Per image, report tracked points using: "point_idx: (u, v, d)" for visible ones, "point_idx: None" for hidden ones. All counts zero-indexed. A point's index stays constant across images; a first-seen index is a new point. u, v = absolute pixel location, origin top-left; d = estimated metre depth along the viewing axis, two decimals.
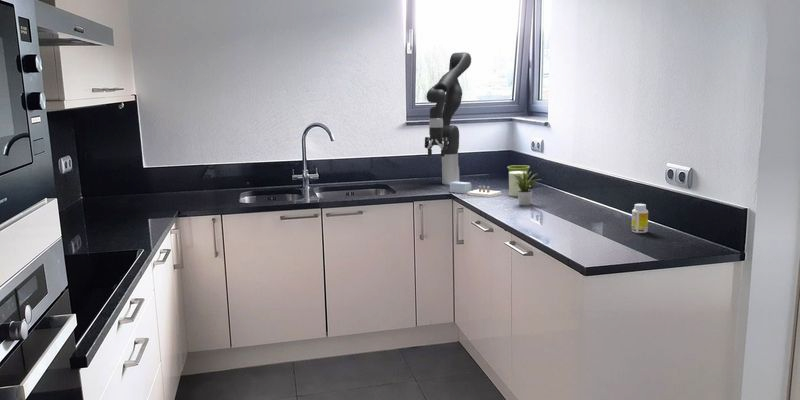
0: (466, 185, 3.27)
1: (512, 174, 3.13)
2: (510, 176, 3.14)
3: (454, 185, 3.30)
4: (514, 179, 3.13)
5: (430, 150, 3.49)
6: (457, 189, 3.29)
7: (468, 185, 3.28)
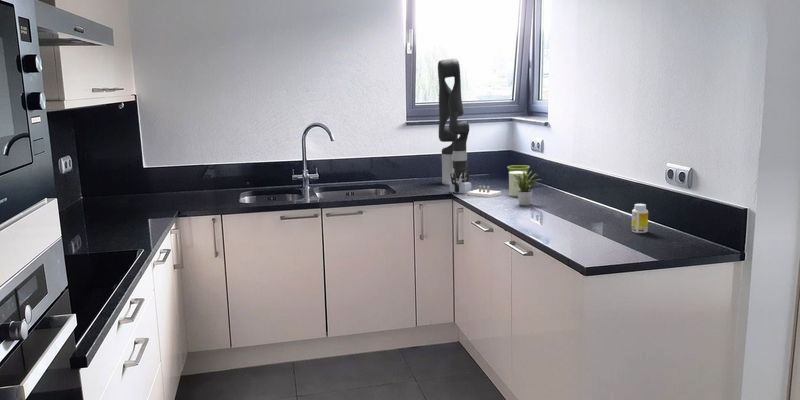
0: (466, 185, 3.27)
1: (512, 174, 3.13)
2: (510, 176, 3.14)
3: (454, 185, 3.30)
4: (514, 179, 3.13)
5: None
6: None
7: (468, 185, 3.28)
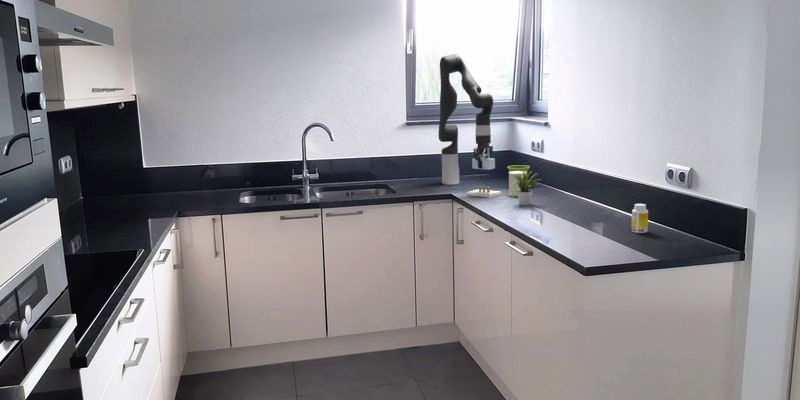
0: (490, 161, 3.14)
1: (512, 174, 3.13)
2: (510, 176, 3.14)
3: (477, 161, 3.18)
4: (514, 179, 3.13)
5: None
6: None
7: (492, 161, 3.16)
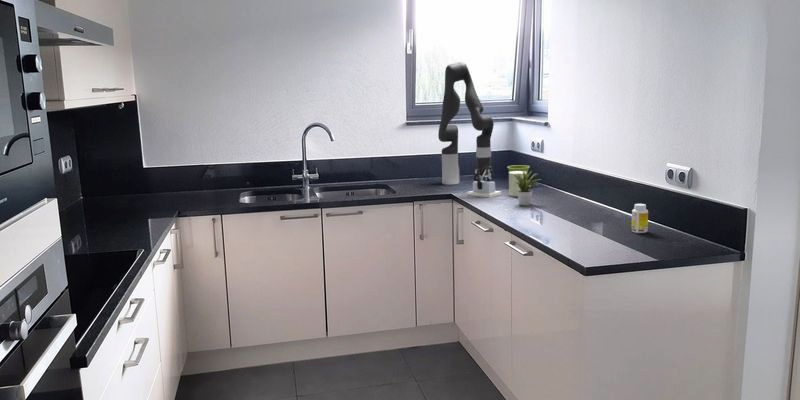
0: (490, 184, 3.16)
1: (512, 174, 3.13)
2: (510, 176, 3.14)
3: None
4: (514, 179, 3.13)
5: None
6: None
7: (492, 184, 3.18)
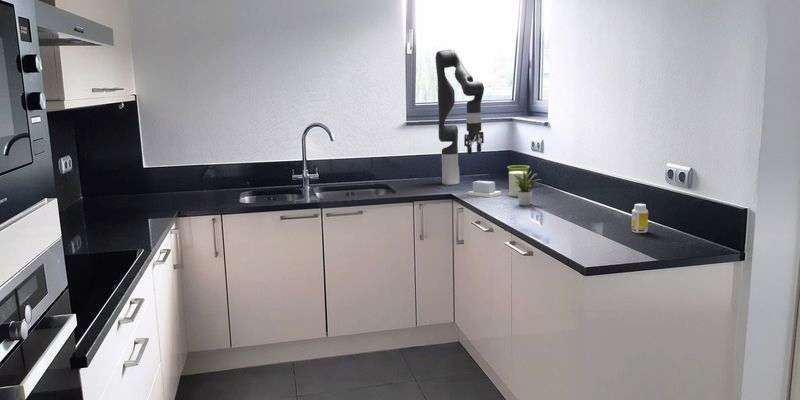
0: (490, 184, 3.16)
1: (512, 174, 3.13)
2: (510, 176, 3.14)
3: (477, 184, 3.20)
4: (514, 179, 3.13)
5: None
6: (481, 188, 3.19)
7: (492, 184, 3.18)
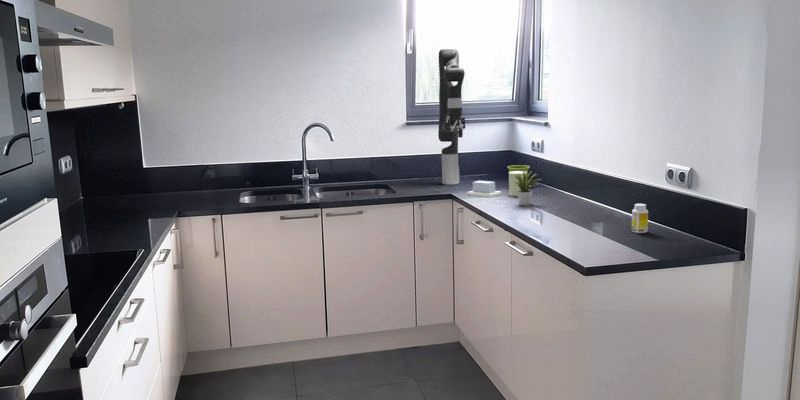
0: (490, 184, 3.16)
1: (512, 174, 3.13)
2: (510, 176, 3.14)
3: (477, 184, 3.20)
4: (514, 179, 3.13)
5: None
6: (481, 188, 3.19)
7: (492, 184, 3.18)
